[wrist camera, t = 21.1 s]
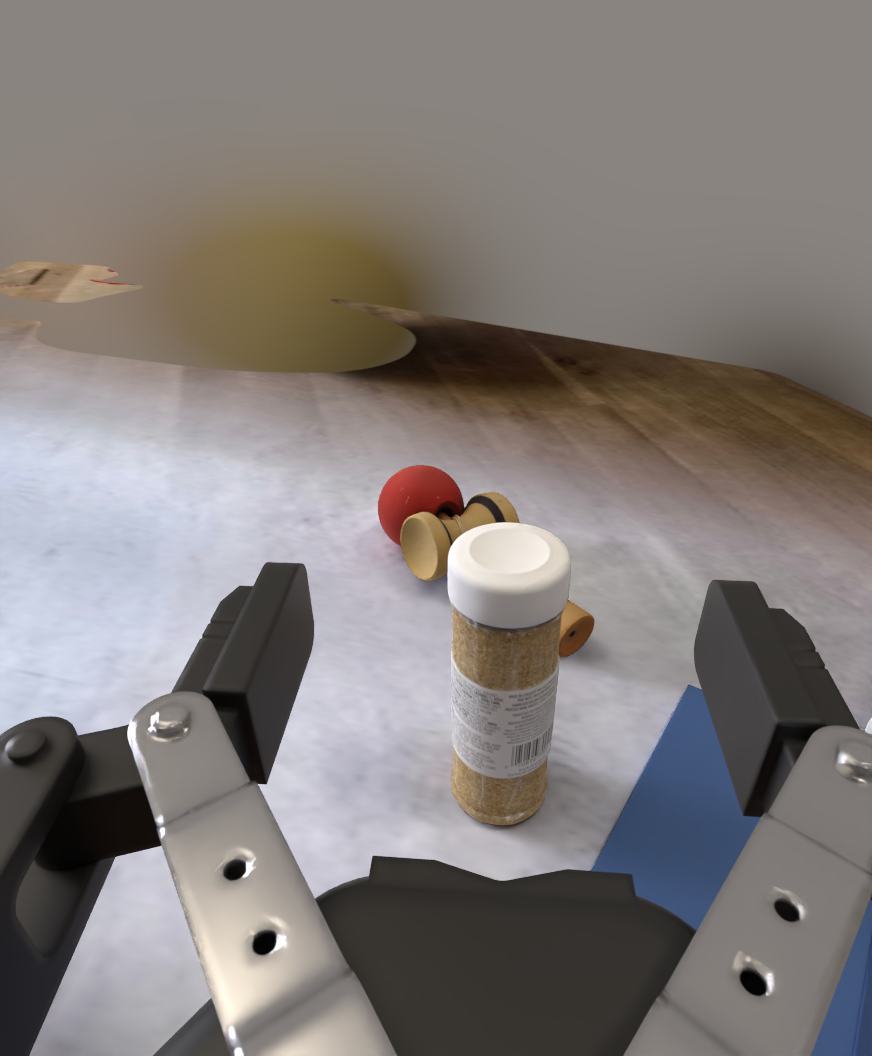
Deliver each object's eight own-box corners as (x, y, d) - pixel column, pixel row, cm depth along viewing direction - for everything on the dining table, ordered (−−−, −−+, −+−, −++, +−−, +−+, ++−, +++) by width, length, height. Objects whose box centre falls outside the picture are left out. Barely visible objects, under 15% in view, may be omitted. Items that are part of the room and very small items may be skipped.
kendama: (621, 636, 43) (443, 492, 54) (632, 568, 39) (436, 426, 49) (528, 708, 40) (360, 541, 51) (529, 644, 36) (345, 475, 46)
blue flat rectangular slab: (835, 1543, 16) (842, 1541, 15) (433, 1176, 21) (432, 1170, 21) (925, 784, 32) (930, 776, 32) (687, 689, 37) (689, 681, 37)
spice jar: (519, 737, 35) (535, 508, 28) (565, 811, 31) (597, 568, 24) (434, 765, 34) (429, 531, 26) (473, 845, 30) (478, 600, 23)
